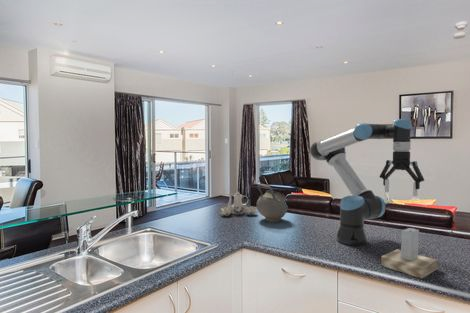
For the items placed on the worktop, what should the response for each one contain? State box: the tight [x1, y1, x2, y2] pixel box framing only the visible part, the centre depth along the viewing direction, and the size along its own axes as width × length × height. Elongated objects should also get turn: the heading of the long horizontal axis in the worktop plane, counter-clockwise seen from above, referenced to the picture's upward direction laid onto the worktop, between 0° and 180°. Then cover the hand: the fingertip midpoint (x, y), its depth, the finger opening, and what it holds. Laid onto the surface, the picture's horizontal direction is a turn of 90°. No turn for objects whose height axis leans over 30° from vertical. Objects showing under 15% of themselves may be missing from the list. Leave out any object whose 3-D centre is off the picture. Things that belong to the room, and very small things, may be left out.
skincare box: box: [400, 227, 420, 261], centre depth 130 cm, size 6×4×12 cm
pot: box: [256, 183, 288, 223], centre depth 208 cm, size 21×21×25 cm
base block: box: [380, 249, 438, 279], centre depth 130 cm, size 16×14×4 cm
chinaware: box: [219, 190, 258, 217], centre depth 226 cm, size 28×17×17 cm, turn 103°
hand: (400, 194), depth 153 cm, fingers open, 13 cm apart
